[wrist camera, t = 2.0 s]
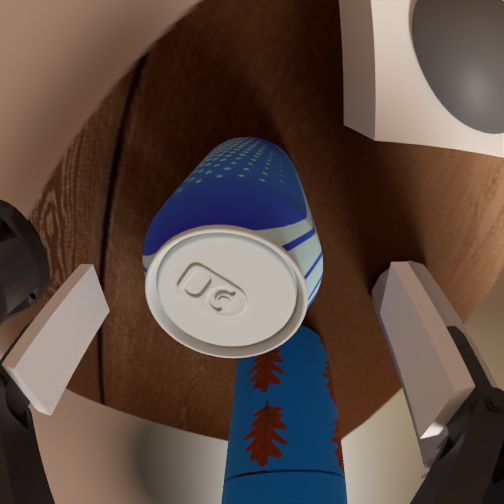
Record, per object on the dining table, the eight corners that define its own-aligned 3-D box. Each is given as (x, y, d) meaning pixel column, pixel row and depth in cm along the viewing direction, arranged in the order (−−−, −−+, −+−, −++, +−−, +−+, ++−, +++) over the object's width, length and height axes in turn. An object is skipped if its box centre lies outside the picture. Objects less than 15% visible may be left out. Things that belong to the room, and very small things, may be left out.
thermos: (311, 310, 32) (335, 557, 11) (337, 366, 37) (361, 555, 15) (222, 338, 35) (187, 556, 13) (260, 387, 40) (251, 563, 18)
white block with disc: (343, 124, 23) (377, 141, 16) (335, -28, 16) (362, -70, 9) (491, 143, 22) (547, 169, 14) (489, 13, 15) (545, 6, 8)
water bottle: (356, 277, 30) (428, 535, 8) (423, 243, 28) (554, 468, 6) (381, 332, 34) (434, 535, 12) (438, 303, 31) (522, 492, 10)
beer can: (285, 123, 23) (311, 176, 9) (306, 216, 27) (340, 355, 13) (187, 150, 25) (90, 234, 11) (216, 236, 29) (173, 376, 15)
